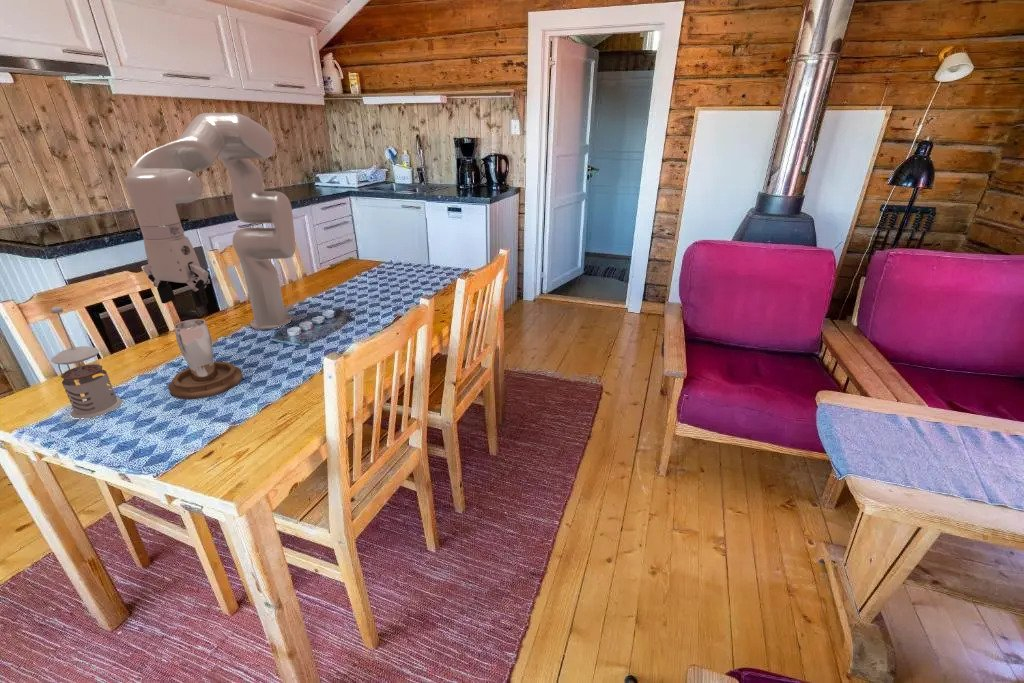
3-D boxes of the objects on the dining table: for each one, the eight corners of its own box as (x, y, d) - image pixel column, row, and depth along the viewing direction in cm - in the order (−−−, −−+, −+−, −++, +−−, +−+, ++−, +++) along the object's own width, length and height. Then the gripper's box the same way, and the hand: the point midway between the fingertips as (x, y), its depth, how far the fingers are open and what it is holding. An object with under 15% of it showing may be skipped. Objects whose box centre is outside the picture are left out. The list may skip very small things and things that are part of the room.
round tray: (206, 365, 129) (204, 356, 128) (256, 372, 126) (254, 363, 125) (153, 394, 115) (150, 384, 114) (208, 403, 112) (205, 393, 111)
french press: (87, 423, 104) (41, 317, 94) (54, 413, 107) (6, 310, 97) (133, 401, 112) (96, 302, 102) (101, 392, 116) (62, 296, 106)
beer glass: (227, 372, 123) (213, 319, 117) (209, 385, 117) (192, 330, 111) (202, 371, 124) (186, 318, 118) (183, 384, 118) (165, 328, 111)
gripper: (208, 230, 106) (228, 301, 114) (147, 226, 110) (169, 295, 118) (180, 237, 100) (202, 312, 107) (115, 233, 104) (141, 305, 111)
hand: (185, 303), depth 112 cm, fingers open, 9 cm apart
